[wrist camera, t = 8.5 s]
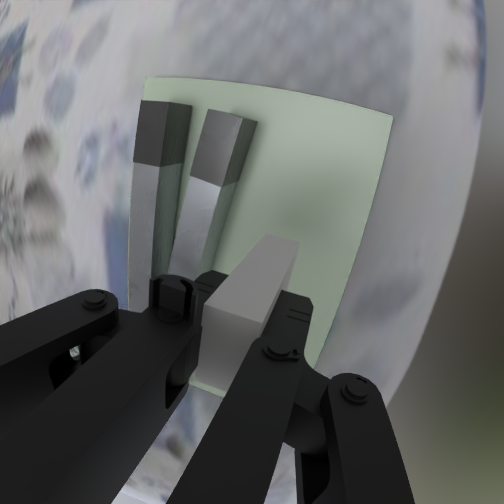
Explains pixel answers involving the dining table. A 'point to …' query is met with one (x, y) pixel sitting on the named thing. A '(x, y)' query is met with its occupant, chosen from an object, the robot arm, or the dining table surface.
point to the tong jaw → (210, 191)
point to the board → (290, 183)
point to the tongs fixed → (154, 194)
